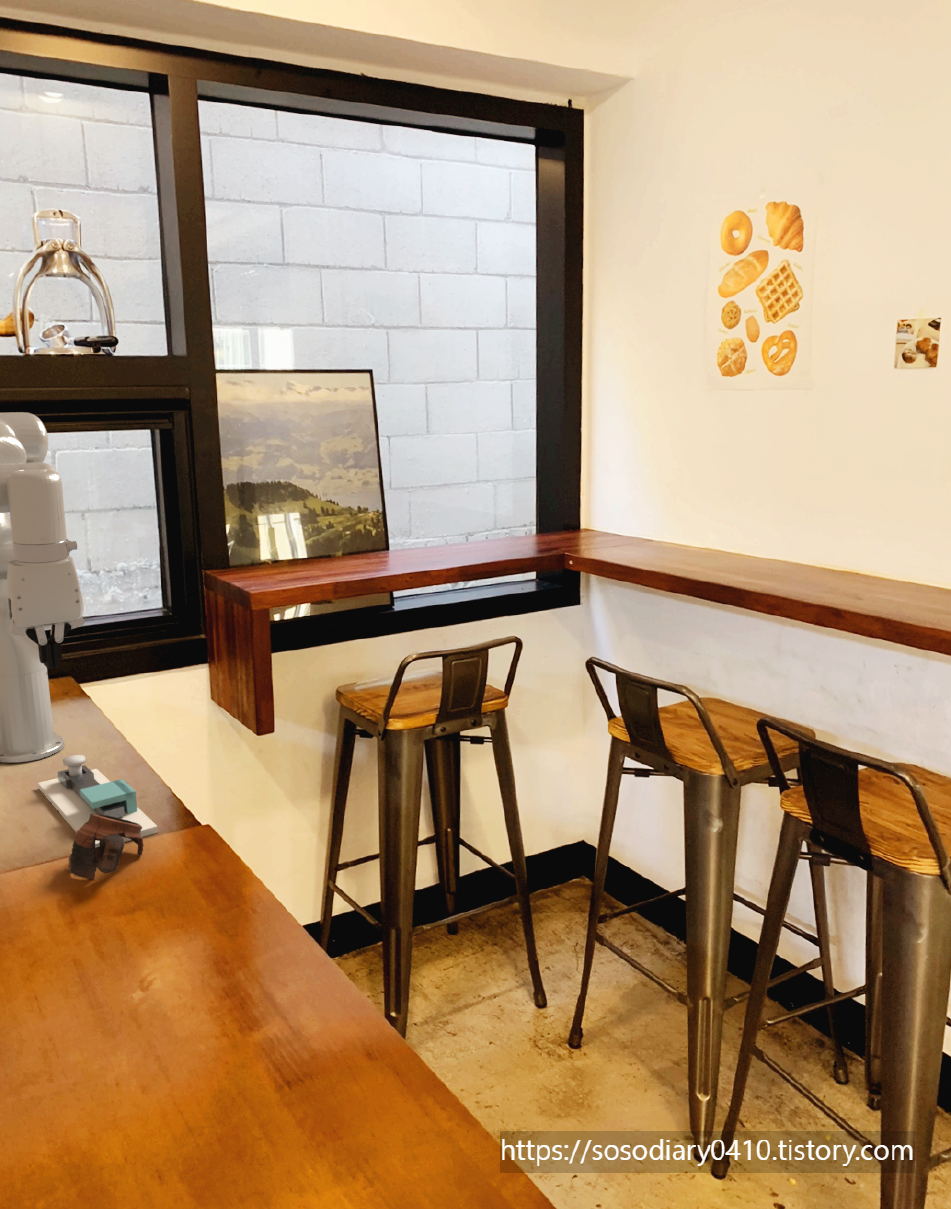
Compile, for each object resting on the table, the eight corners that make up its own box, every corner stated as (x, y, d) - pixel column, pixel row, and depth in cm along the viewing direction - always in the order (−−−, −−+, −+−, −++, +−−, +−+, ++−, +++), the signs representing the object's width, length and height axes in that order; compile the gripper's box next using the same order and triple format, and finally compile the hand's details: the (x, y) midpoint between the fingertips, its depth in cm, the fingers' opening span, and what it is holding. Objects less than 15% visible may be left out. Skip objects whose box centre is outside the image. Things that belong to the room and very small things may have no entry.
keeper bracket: (81, 809, 147) (79, 789, 146) (124, 798, 151) (122, 778, 150) (94, 823, 142) (92, 802, 141) (137, 811, 146) (135, 791, 145)
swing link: (58, 780, 157) (57, 771, 156) (85, 773, 159) (84, 765, 159) (99, 822, 142) (99, 813, 141) (129, 814, 144) (128, 805, 144)
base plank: (38, 788, 157) (35, 758, 156) (97, 773, 163) (94, 745, 161) (92, 851, 136) (89, 817, 134) (158, 832, 141) (155, 799, 140)
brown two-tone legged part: (56, 866, 133) (77, 807, 135) (123, 879, 137) (141, 822, 139) (74, 880, 123) (95, 817, 125) (145, 894, 127) (164, 832, 129)
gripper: (84, 542, 152) (93, 651, 156) (-19, 552, 143) (-6, 667, 148) (98, 551, 146) (107, 664, 151) (-8, 562, 137) (5, 681, 142)
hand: (51, 665), depth 149 cm, fingers closed
